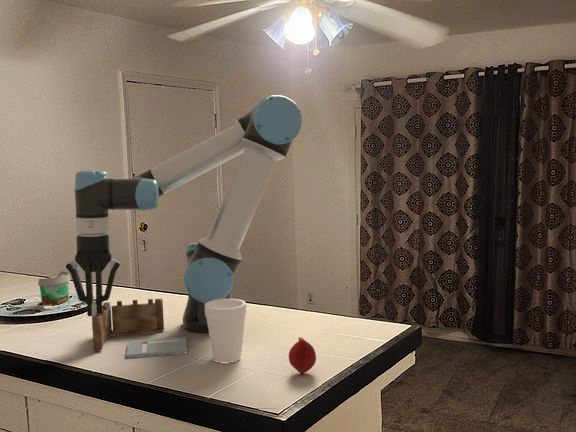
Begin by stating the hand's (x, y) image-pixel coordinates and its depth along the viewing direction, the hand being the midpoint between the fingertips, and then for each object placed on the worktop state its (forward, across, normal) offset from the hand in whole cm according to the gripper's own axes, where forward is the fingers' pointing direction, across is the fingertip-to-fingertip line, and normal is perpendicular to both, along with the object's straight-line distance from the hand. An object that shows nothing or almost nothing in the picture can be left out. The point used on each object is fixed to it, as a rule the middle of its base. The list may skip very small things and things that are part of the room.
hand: (95, 328), depth 145 cm
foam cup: (+4, +31, -16) cm, 35 cm away
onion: (+3, +46, -29) cm, 55 cm away
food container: (+6, -16, +43) cm, 47 cm away
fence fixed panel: (+5, +9, +10) cm, 14 cm away
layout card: (+4, +15, -5) cm, 17 cm away
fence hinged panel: (+4, +1, +2) cm, 5 cm away
